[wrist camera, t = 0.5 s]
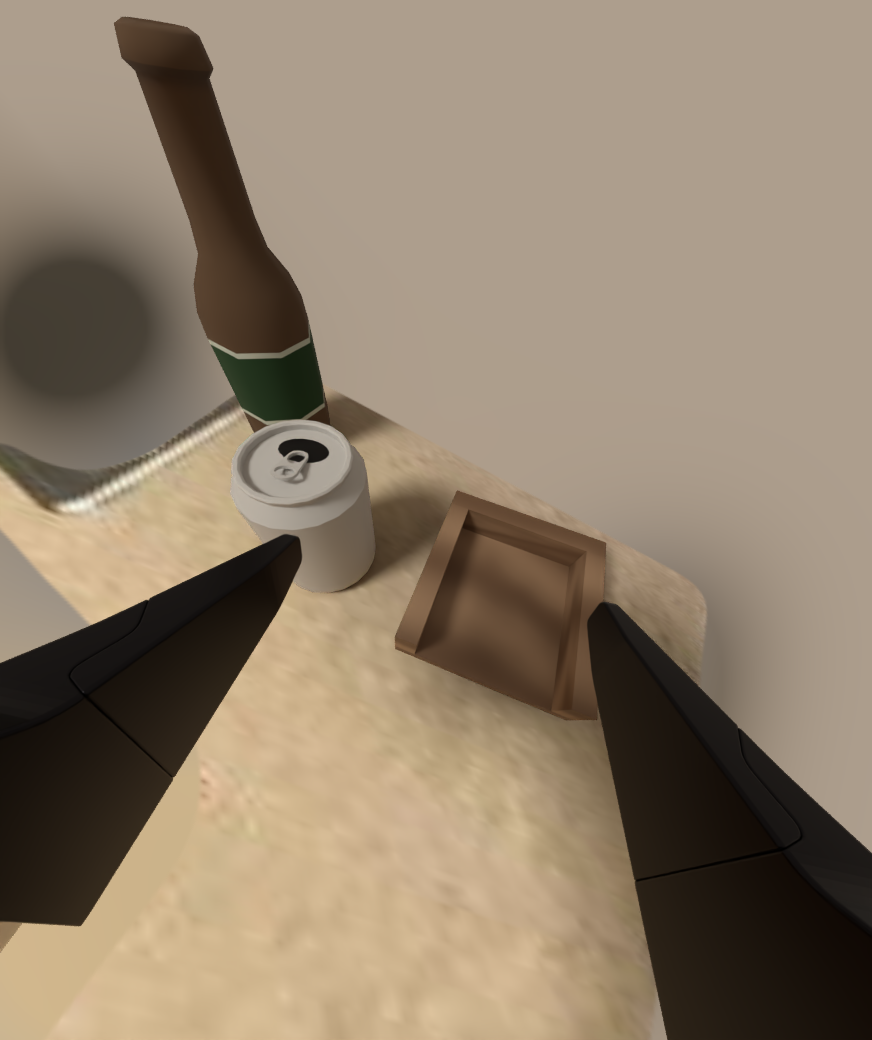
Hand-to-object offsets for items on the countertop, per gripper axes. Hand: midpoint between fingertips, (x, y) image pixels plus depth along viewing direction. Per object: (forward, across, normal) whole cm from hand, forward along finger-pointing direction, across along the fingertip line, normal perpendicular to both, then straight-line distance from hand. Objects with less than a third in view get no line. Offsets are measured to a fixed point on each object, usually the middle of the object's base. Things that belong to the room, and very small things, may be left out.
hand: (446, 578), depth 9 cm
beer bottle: (+24, +18, +8) cm, 31 cm away
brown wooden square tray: (+11, -6, +13) cm, 18 cm away
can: (+12, +9, +13) cm, 20 cm away
